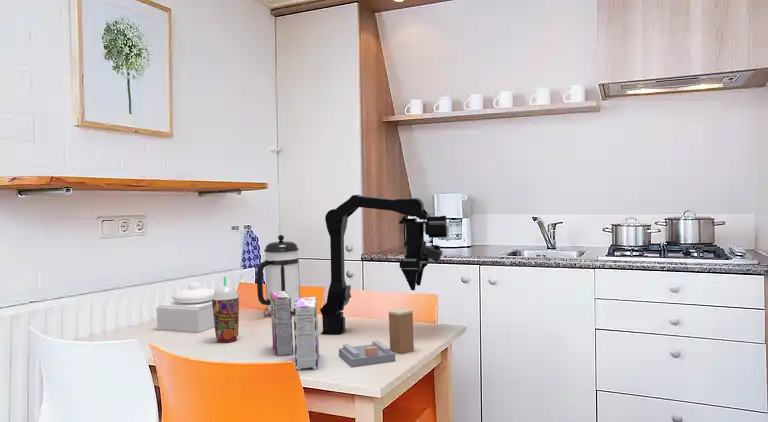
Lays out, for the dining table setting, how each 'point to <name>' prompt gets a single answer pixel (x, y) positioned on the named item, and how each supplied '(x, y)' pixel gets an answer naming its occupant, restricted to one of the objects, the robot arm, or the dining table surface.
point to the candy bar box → (281, 323)
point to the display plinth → (365, 359)
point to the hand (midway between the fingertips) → (415, 287)
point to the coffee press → (279, 271)
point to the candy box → (306, 333)
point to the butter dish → (187, 311)
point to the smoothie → (226, 313)
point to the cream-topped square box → (401, 331)
